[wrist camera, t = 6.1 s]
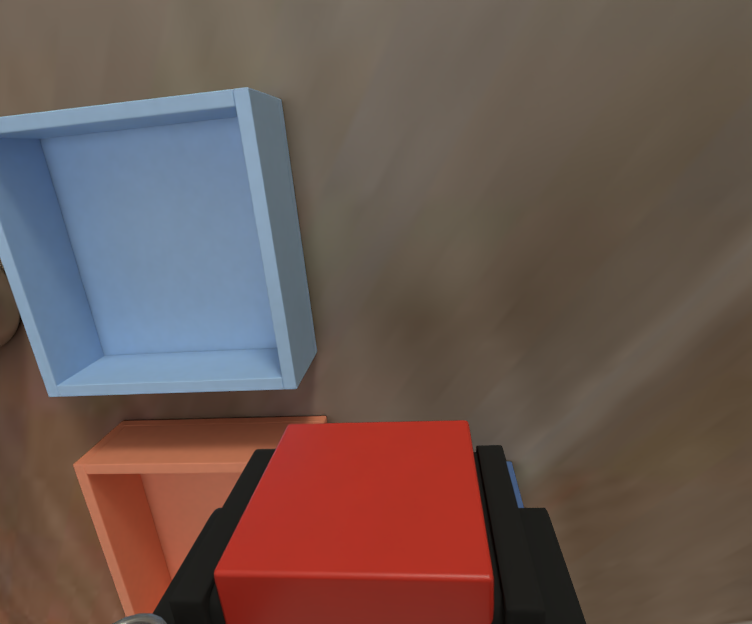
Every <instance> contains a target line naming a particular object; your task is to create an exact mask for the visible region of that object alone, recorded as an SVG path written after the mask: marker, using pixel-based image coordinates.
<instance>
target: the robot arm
mask: <svg viewBox="0 0 752 624" xmlns="http://www.w3.org/2000/svg"><path fill="white" fill-rule="evenodd" d="M274 451H275V449H256V450H255V451H254V453H253V454H252V456H251V458H250V460H249V461H248V463H247V465H246V466H245V468H244V470H243V472H242V473H241V475H240V477H239V479H238V480H237V482H236V484H235V486H234V487H233V489H232V491H231V493H230V494H229V496H228V498H227V500H226V501H225V503H224V505H223V507H222V508H217V509H216V510H214V512H213V513H212V514H211V515H210V517H209V519H208V521H207V522H206V524H205V526H204V527H203V529H202V531H201V532H200V534H199V536H198V537H197V539H196V541H195V542H194V544H193V546H192V548H191V549H190V551H189V553H188V554H187V556H186V558H185V559H184V561H183V563H182V564H181V566H180V568H179V569H178V571H177V573H176V575H175V576H174V578H173V580H172V581H171V583H170V585H169V586H168V588H167V590H166V591H165V593H164V595H163V597H162V598H161V600H160V602H159V603H158V605H157V607H156V608H155V610H154V612H153V613H139V614H135V615H131V616H128V617H125V618H123V619H121V620H119V621H117V622H115V623H113V624H226V623H225V619H224V615H223V611H222V607H221V603H220V599H219V595H218V591H217V587H216V583H215V579H214V571H215V568H216V566H217V564H218V562H219V560H220V558H221V556H222V554H223V552H224V550H225V548H226V547H227V545H228V543H229V541H230V539H231V537H232V535H233V533H234V531H235V529H236V527H237V525H238V523H239V521H240V519H241V517H242V515H243V513H244V511H245V509H246V507H247V505H248V503H249V501H250V499H251V497H252V495H253V493H254V491H255V489H256V487H257V485H258V483H259V481H260V479H261V477H262V475H263V473H264V471H265V469H266V467H267V465H268V463H269V461H270V459H271V457H272V455H273V453H274ZM473 453H474V459H475V465H476V471H477V477H478V483H479V489H480V496H481V502H482V508H483V514H484V520H485V526H486V532H487V538H488V544H489V550H490V557H491V563H492V569H493V575H494V615H493V620H492V623H491V624H586V622H585V619H584V616H583V613H582V610H581V607H580V604H579V601H578V598H577V596H576V593H575V590H574V587H573V584H572V581H571V578H570V575H569V572H568V569H567V566H566V564H565V561H564V558H563V555H562V552H561V549H560V546H559V543H558V540H557V537H556V534H555V531H554V529H553V526H552V523H551V520H550V517H549V514H548V512H547V510H546V509H545V508H518V504H517V501H516V497H515V493H514V489H513V485H512V482H511V478H510V474H509V470H508V466H507V463H506V459H505V455H504V451H503V448H502V446H501V445H489V446H477V447H476V452H473Z"/></svg>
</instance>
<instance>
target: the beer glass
mask: <svg viewBox="0 0 752 624" xmlns="http://www.w3.org/2000/svg"><path fill="white" fill-rule="evenodd" d="M19 321H20V312H19V310H18V307H17V304H16V301H15V298H14V295H13V292H12V290H11V287H10V284H9V281H8V278H7V276H6V274H5V273H4V272H3V271H2V270H1V269H0V347H1V346H3V345H4V344H6V343H7V342H8V341H9V340H10V339H11V338H12V337H13V336H14V334H15V333H16V331H17V328H18V325H19Z"/></svg>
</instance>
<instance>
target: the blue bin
mask: <svg viewBox="0 0 752 624" xmlns="http://www.w3.org/2000/svg"><path fill="white" fill-rule="evenodd" d="M0 258H1V261H2V264H3V267H4V270H5V272H6V275H7V278H8V281H9V284H10V287H11V290H12V292H13V295H14V298H15V301H16V304H17V307H18V310H19V312H20V315H21V318H22V321H23V324H24V327H25V330H26V332H27V335H28V338H29V341H30V344H31V347H32V350H33V352H34V355H35V358H36V361H37V364H38V367H39V370H40V372H41V375H42V378H43V381H44V384H45V387H46V390H47V392H48V395H49V397H60V396H61V397H62V396H93V395H124V394H155V393H186V392H217V391H248V390H279V389H297V387H298V386H299V384H300V382H301V380H302V378H303V377H304V375H305V373H306V371H307V369H308V368H309V366H310V364H311V362H312V360H313V359H314V357H315V355H316V353H317V347H316V340H315V333H314V326H313V319H312V312H311V305H310V298H309V291H308V284H307V277H306V270H305V263H304V255H303V248H302V241H301V234H300V227H299V220H298V213H297V206H296V199H295V192H294V185H293V178H292V171H291V164H290V157H289V150H288V143H287V136H286V129H285V122H284V115H283V108H282V101H281V99H279V98H276V97H274V96H271V95H268V94H265V93H262V92H259V91H257V90H254V89H251V88H248V87H245V88H237V89H233V90H232V89H229V90H221V91H212V92H204V93H196V94H187V95H179V96H171V97H162V98H154V99H146V100H137V101H129V102H121V103H112V104H104V105H96V106H87V107H79V108H71V109H62V110H54V111H46V112H37V113H29V114H21V115H12V116H4V117H0Z"/></svg>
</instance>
